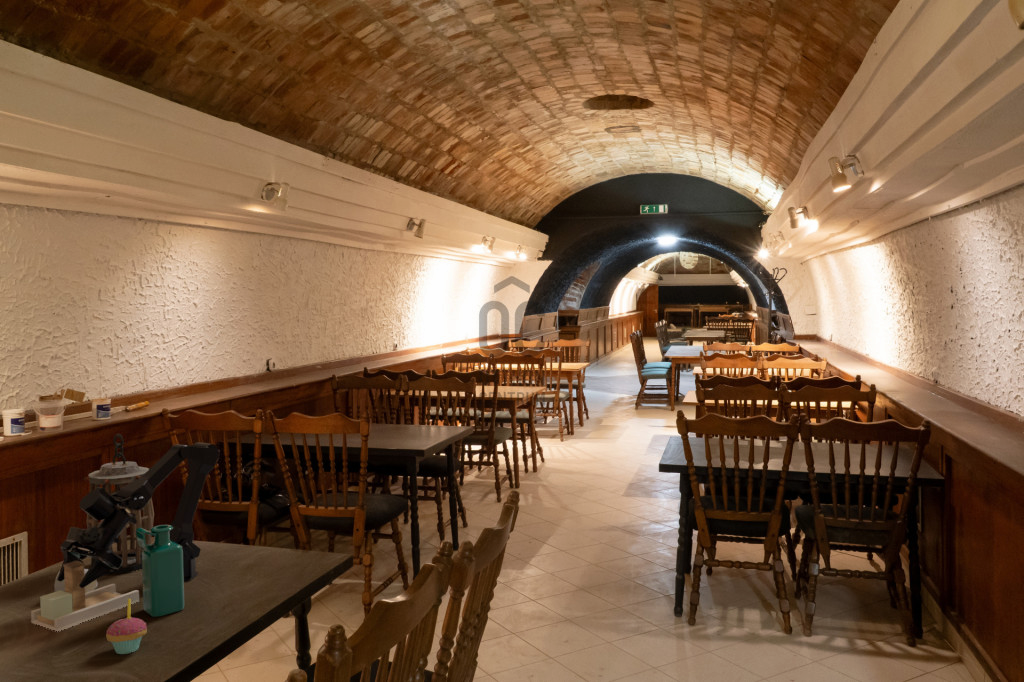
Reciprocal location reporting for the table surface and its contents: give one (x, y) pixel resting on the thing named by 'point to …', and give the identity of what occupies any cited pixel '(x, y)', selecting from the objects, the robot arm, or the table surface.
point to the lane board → (89, 609)
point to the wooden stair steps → (78, 589)
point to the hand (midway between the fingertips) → (69, 584)
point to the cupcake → (126, 633)
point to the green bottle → (161, 572)
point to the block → (56, 604)
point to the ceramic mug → (61, 584)
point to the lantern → (119, 476)
